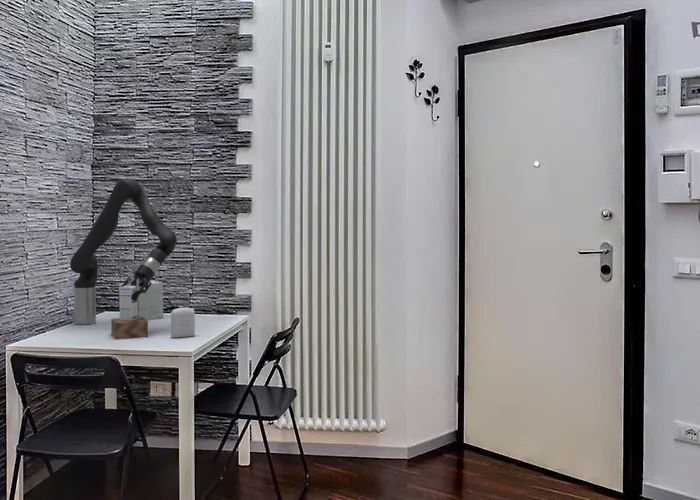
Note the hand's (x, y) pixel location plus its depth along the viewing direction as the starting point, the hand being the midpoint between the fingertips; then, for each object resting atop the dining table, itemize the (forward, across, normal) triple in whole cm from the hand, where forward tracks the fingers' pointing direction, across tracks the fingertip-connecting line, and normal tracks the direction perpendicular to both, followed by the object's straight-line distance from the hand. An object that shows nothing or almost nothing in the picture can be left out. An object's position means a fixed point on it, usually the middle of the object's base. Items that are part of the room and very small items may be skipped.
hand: (126, 298), depth 287 cm
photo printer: (+3, +21, +20) cm, 29 cm away
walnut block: (+11, 0, +12) cm, 16 cm away
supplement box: (-13, -33, +36) cm, 51 cm away
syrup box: (+6, 0, +8) cm, 10 cm away
